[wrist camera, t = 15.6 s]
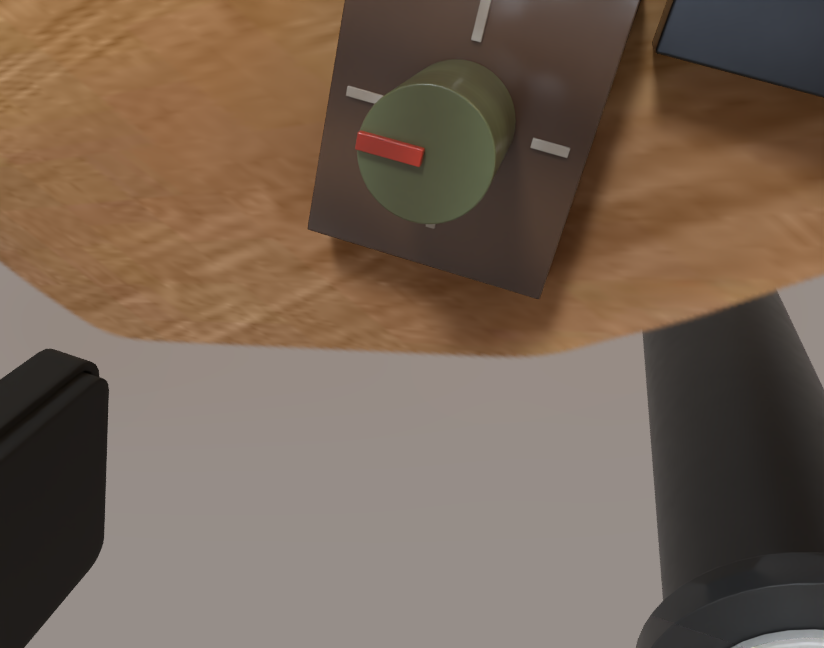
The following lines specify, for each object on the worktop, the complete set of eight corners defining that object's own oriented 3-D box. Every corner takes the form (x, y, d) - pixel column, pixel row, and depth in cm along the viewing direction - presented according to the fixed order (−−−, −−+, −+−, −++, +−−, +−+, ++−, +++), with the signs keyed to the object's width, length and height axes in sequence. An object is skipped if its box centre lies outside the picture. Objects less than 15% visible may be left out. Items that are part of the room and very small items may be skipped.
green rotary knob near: (530, 76, 27) (511, 106, 22) (498, 192, 29) (474, 244, 24) (412, 45, 28) (367, 67, 23) (388, 162, 30) (343, 206, 25)
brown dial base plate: (544, 276, 33) (539, 302, 31) (326, 211, 34) (305, 231, 32) (644, -21, 27) (647, -17, 25) (378, -89, 28) (358, -92, 26)
